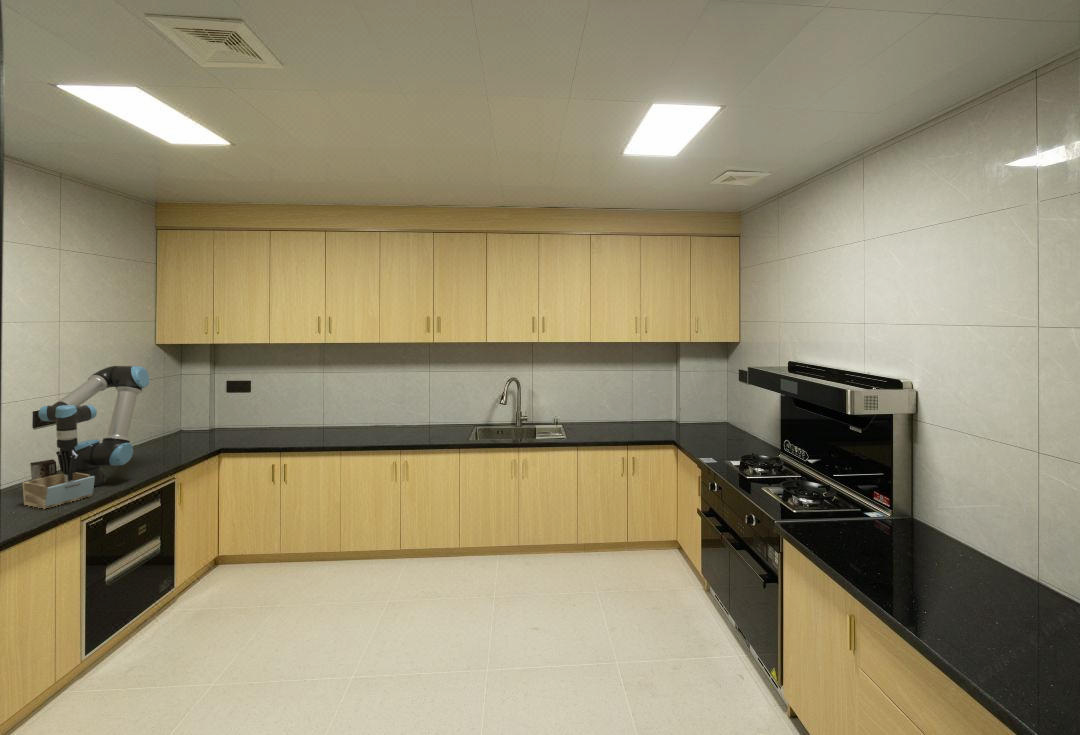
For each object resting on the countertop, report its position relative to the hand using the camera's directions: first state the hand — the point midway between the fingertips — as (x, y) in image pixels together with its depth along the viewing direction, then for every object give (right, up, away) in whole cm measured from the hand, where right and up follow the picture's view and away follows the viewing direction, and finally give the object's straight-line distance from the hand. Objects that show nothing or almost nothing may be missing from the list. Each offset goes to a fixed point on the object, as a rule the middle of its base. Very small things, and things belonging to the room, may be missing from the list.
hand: (69, 487), depth 271 cm
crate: (-8, -8, +4) cm, 12 cm away
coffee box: (-23, -6, +14) cm, 28 cm away
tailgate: (0, -6, +1) cm, 6 cm away
